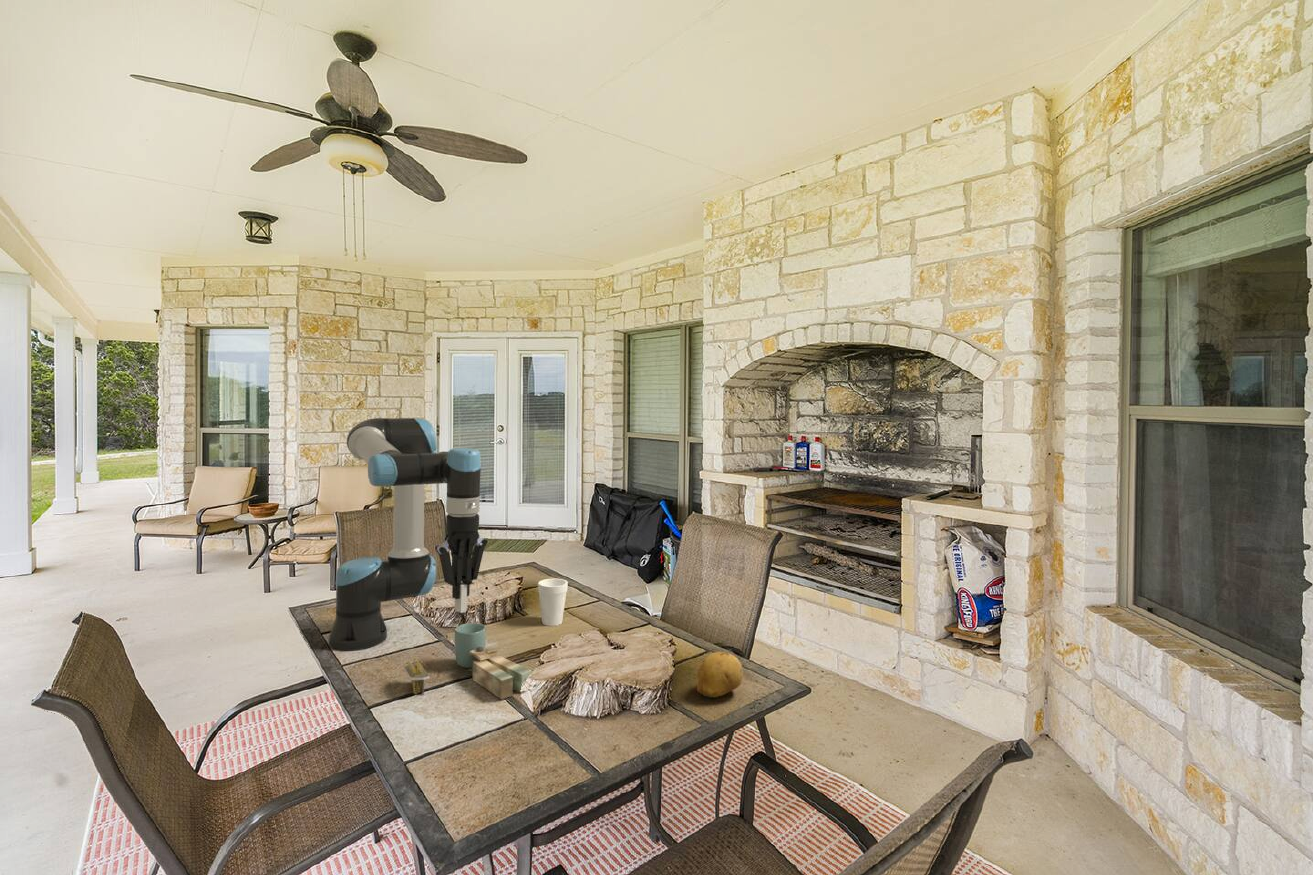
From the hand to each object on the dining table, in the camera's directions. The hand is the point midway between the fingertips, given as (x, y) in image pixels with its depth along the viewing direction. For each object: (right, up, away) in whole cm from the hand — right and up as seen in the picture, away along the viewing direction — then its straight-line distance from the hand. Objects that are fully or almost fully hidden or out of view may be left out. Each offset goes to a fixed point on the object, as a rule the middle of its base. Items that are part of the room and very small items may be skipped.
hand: (460, 610), depth 145 cm
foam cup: (+13, -18, +50) cm, 55 cm away
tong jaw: (+6, -20, +5) cm, 21 cm away
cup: (-3, -19, +17) cm, 26 cm away
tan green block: (+7, -20, +8) cm, 23 cm away
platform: (-12, -20, +2) cm, 23 cm away
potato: (+63, -22, +5) cm, 67 cm away
